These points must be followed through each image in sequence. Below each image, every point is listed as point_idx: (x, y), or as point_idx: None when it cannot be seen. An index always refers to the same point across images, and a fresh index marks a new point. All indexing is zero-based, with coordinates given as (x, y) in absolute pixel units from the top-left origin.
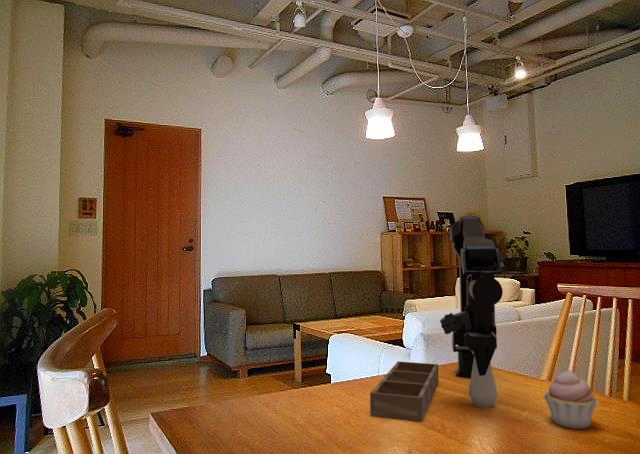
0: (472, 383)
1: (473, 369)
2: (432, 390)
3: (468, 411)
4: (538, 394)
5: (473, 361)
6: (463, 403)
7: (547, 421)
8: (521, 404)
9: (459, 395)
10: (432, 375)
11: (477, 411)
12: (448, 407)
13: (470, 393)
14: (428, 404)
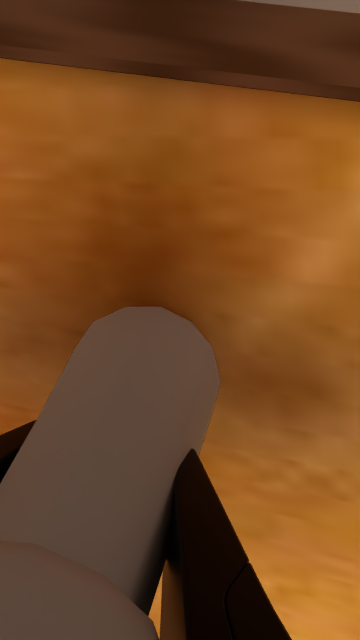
0: (94, 345)
1: (74, 403)
2: (258, 70)
3: (46, 279)
4: (344, 590)
5: (87, 456)
6: (159, 267)
7: None
8: None
9: (298, 258)
10: (317, 6)
11: (57, 318)
12: (77, 184)
13: (114, 313)
14: (58, 60)
